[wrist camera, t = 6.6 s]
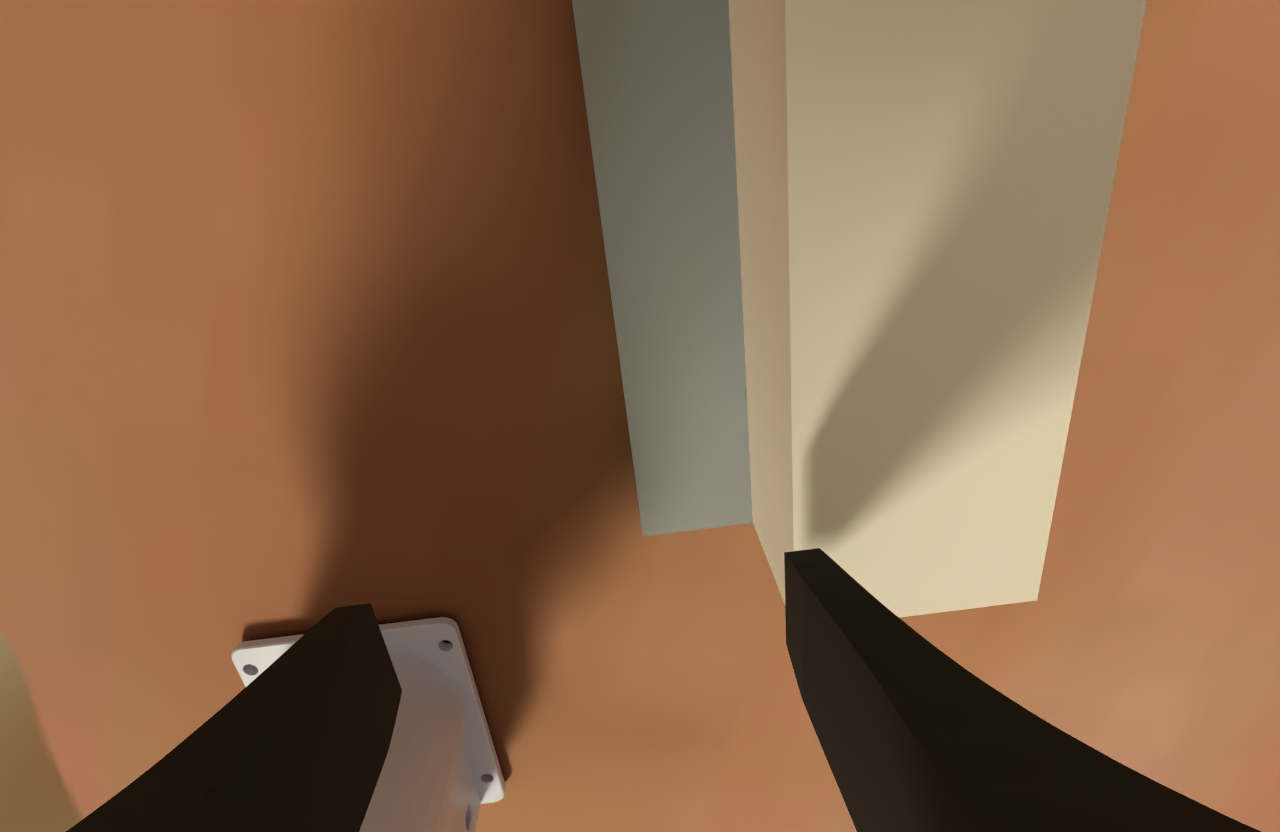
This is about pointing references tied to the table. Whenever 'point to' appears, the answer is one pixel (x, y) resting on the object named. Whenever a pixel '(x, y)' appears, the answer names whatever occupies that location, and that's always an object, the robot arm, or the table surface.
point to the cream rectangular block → (921, 276)
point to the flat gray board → (672, 249)
